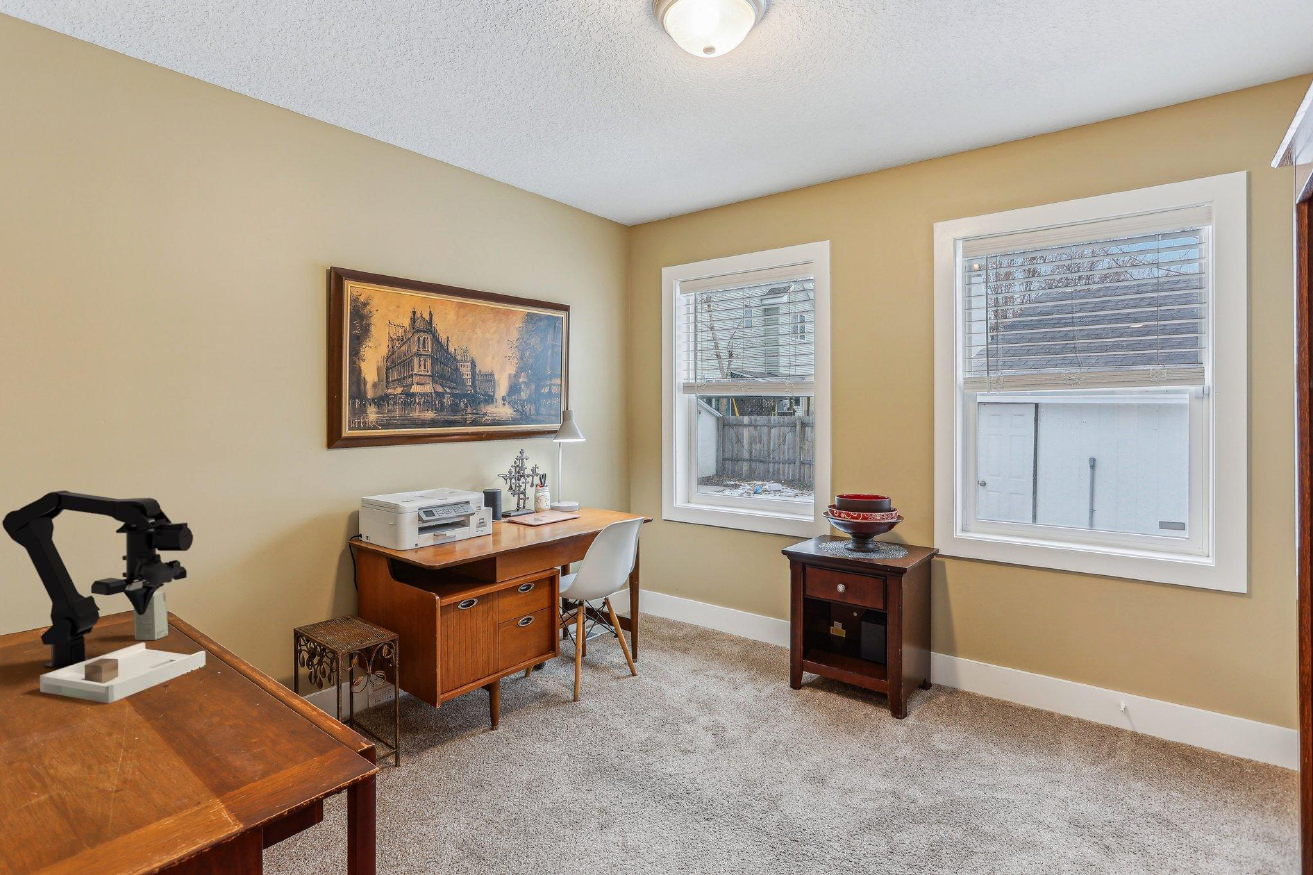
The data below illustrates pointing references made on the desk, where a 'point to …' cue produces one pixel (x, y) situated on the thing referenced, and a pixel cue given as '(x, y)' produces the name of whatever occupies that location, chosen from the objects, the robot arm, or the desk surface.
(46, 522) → the robot arm
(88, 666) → the block
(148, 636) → the skincare box
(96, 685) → the platform
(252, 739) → the desk surface
